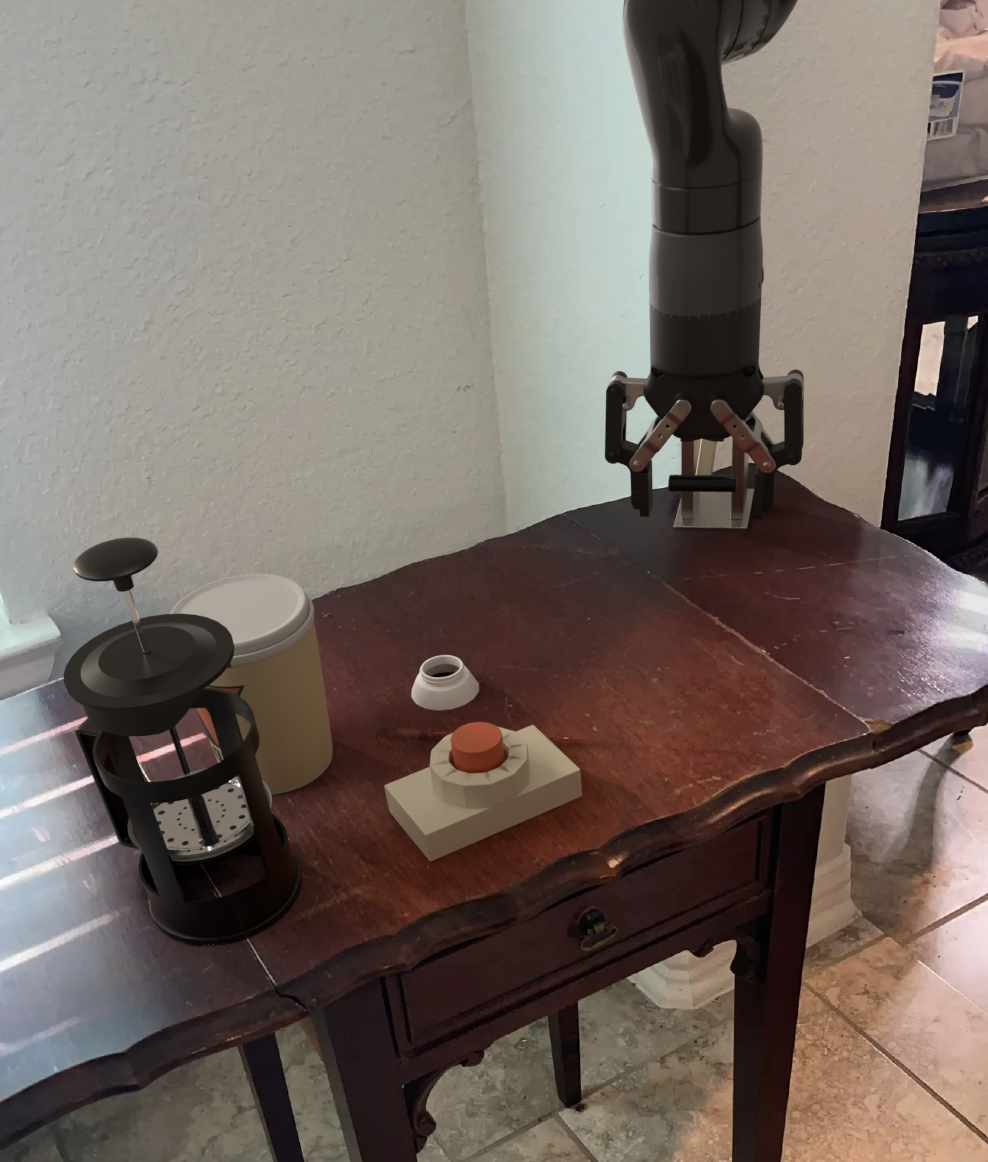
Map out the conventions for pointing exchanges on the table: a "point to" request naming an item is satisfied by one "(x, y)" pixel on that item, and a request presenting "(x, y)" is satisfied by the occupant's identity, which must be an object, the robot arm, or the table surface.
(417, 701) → the white jar
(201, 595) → the beige canister with lid
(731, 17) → the robot arm
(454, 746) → the button
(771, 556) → the table surface
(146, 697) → the french press
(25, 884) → the table surface
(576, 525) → the table surface
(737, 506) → the switch bracket
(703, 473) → the lever
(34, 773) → the table surface
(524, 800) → the button base
